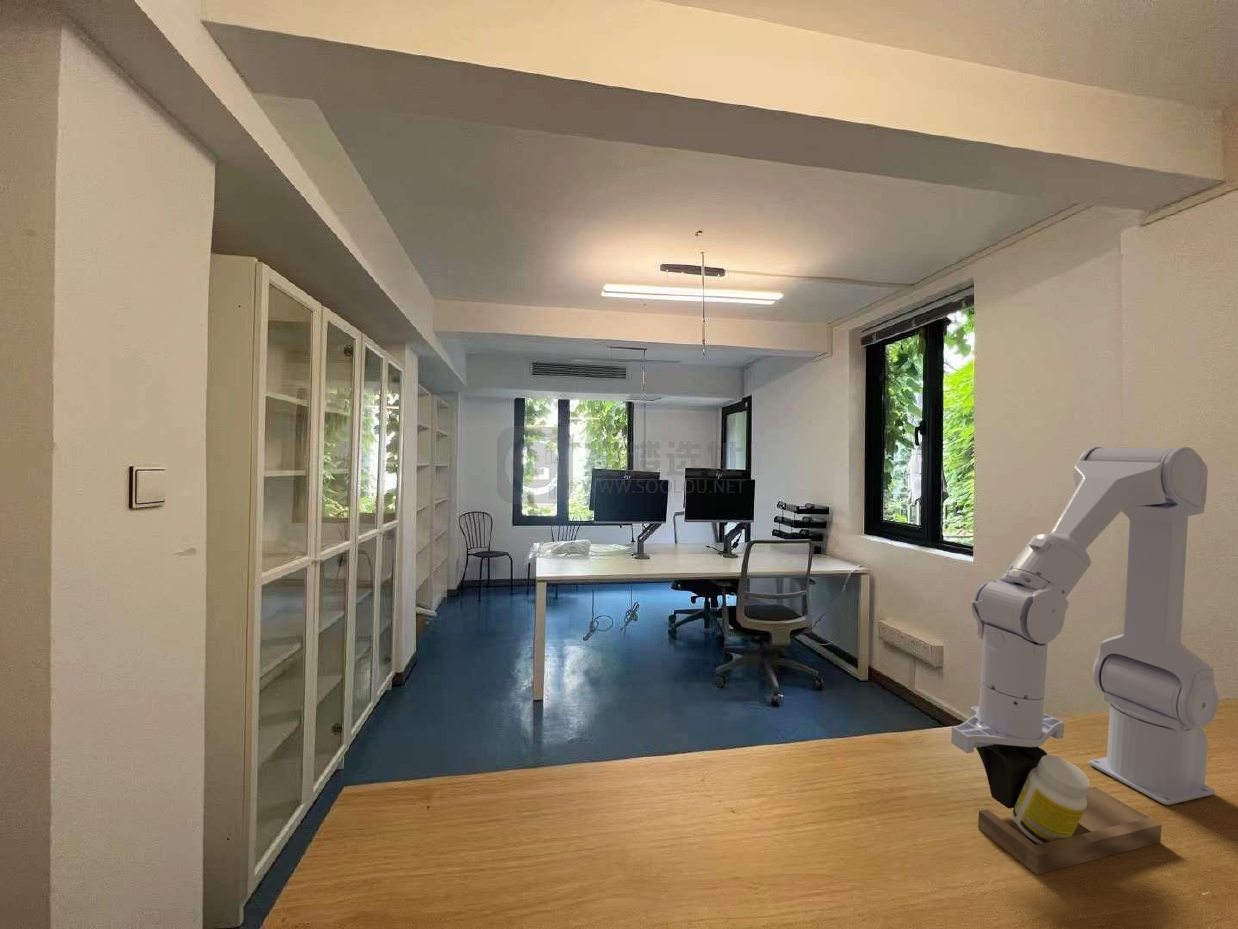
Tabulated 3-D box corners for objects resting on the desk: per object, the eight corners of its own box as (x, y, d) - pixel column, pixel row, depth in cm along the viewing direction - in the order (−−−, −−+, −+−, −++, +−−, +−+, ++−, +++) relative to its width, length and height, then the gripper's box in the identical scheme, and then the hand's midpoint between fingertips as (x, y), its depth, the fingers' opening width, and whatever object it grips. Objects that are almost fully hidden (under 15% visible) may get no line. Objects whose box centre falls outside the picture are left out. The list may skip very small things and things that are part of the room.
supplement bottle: (1078, 857, 50) (1109, 797, 48) (1029, 846, 51) (1056, 787, 48) (1046, 812, 55) (1073, 756, 52) (1002, 803, 55) (1026, 747, 53)
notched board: (1093, 803, 58) (1094, 786, 58) (1160, 842, 52) (1161, 824, 52) (977, 828, 53) (978, 811, 53) (1036, 875, 48) (1037, 855, 48)
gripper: (1021, 666, 61) (1015, 770, 61) (930, 676, 57) (924, 786, 58) (1088, 694, 54) (1080, 811, 54) (989, 707, 50) (981, 832, 51)
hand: (1004, 801), depth 56 cm, fingers closed
